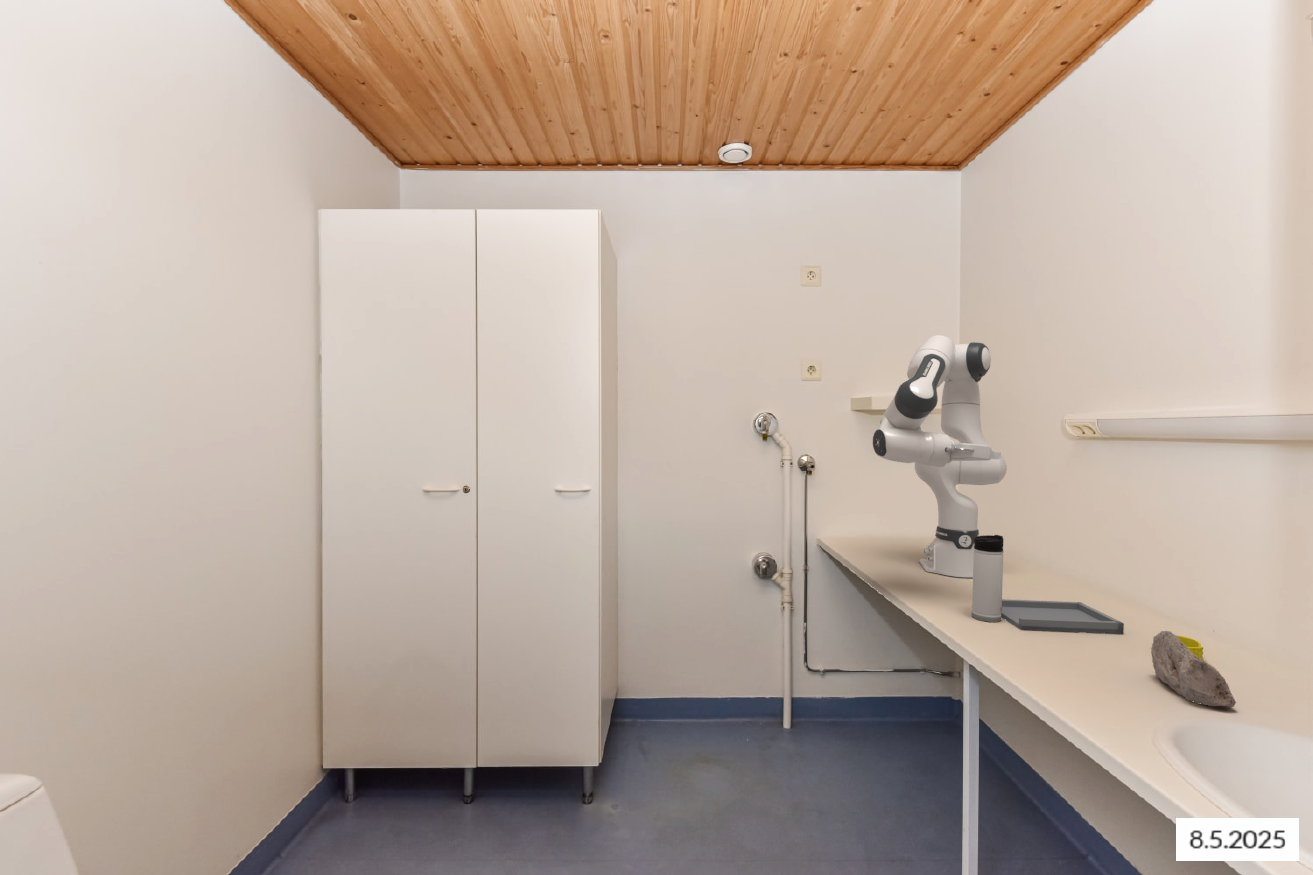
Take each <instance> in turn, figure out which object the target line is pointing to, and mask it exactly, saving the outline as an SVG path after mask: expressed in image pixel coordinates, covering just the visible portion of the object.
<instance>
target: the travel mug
mask: <svg viewBox="0 0 1313 875" xmlns="http://www.w3.org/2000/svg"><path fill="white" fill-rule="evenodd" d="M974 544H975V545H974V560H973V577H972V599H971V600H972V601H971V604H972V605H971V617H973V619H975V618H976V619H975V620H977V621H978V620H979V621H981V620H982V622H986V621H987V623H999V622H1001V621H1002V617H1001V613H1002V599H1003V575H1004V574H1003V573H1004V538H1003V535H999V534H994V535H989V534H987V535H979V536H977V537H975V538H974Z"/></svg>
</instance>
